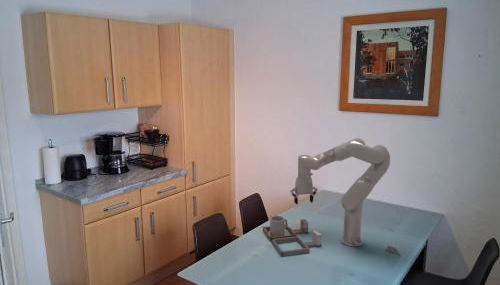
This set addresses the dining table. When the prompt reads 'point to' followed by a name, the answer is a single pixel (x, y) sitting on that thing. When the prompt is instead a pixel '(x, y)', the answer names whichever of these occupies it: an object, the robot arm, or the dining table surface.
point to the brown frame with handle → (289, 230)
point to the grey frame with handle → (315, 242)
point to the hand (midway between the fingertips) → (303, 202)
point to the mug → (277, 226)
